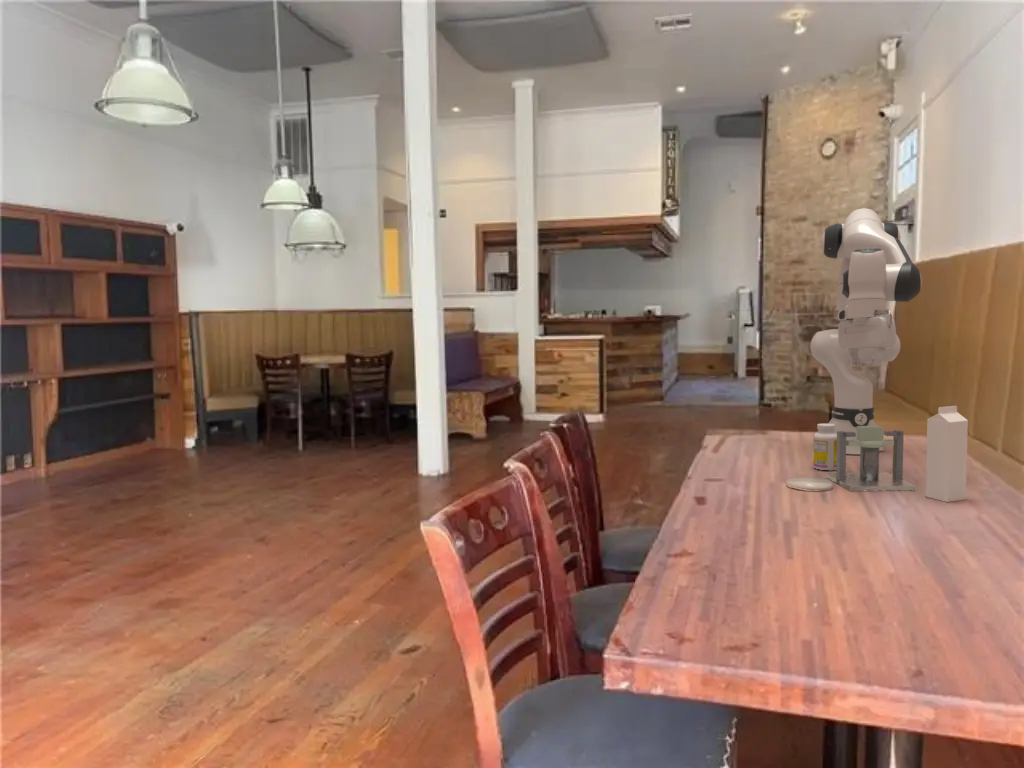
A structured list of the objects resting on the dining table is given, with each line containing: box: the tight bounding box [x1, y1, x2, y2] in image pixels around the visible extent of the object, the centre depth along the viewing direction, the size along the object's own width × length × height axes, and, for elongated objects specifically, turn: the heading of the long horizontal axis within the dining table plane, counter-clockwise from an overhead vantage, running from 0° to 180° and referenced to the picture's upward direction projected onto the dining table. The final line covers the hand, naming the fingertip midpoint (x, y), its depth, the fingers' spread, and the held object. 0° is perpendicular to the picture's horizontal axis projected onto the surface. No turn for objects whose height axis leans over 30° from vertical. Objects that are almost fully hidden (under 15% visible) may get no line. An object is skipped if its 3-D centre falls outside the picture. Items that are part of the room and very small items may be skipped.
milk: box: [925, 405, 969, 503], centre depth 177 cm, size 6×6×22 cm
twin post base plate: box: [825, 429, 917, 492], centre depth 193 cm, size 16×16×14 cm
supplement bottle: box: [813, 423, 837, 472], centre depth 212 cm, size 7×7×13 cm
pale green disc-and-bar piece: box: [846, 425, 894, 448], centre depth 193 cm, size 6×11×5 cm, turn 88°
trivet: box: [786, 476, 834, 492], centre depth 193 cm, size 11×11×1 cm
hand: (865, 366), depth 190 cm, fingers open, 8 cm apart
